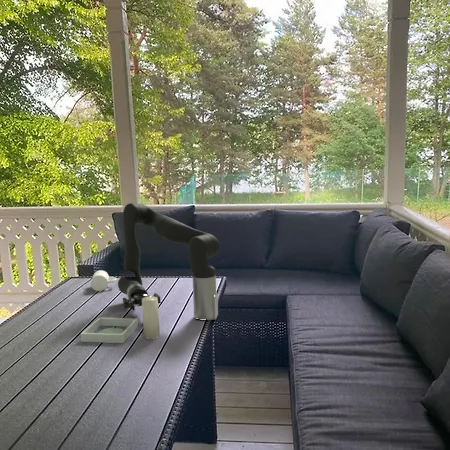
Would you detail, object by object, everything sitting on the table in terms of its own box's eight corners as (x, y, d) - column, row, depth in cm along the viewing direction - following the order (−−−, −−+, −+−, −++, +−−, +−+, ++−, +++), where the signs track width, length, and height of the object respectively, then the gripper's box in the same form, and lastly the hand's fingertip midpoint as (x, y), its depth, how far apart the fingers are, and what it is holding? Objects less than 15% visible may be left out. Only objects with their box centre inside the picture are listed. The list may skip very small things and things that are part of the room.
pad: (126, 329, 167) (126, 328, 167) (117, 338, 158) (117, 337, 158) (104, 328, 168) (104, 327, 168) (94, 338, 160) (94, 337, 159)
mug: (91, 291, 215) (90, 276, 214) (93, 286, 224) (92, 270, 223) (116, 289, 217) (115, 274, 216) (117, 284, 227) (116, 269, 225)
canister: (161, 333, 162) (159, 296, 160) (157, 339, 157) (155, 301, 155) (146, 332, 163) (144, 296, 161) (141, 338, 158) (139, 301, 155)
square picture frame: (138, 325, 170) (137, 318, 169) (123, 343, 155) (122, 335, 154) (99, 324, 172) (99, 317, 172) (81, 341, 157) (80, 333, 156)
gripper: (119, 288, 179) (125, 299, 164) (153, 283, 185) (163, 294, 170) (120, 305, 181) (126, 318, 166) (154, 300, 186) (164, 312, 171)
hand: (145, 306), depth 168 cm, fingers open, 8 cm apart
